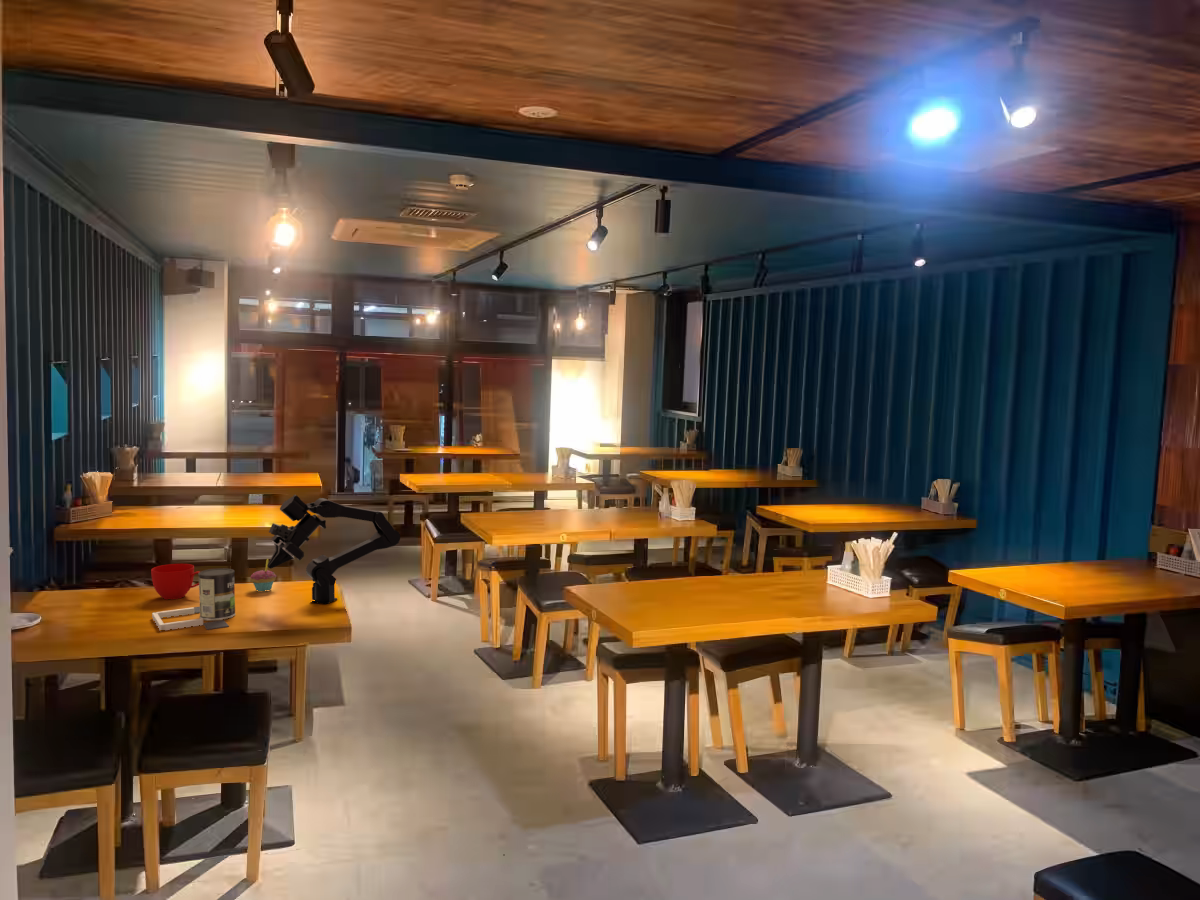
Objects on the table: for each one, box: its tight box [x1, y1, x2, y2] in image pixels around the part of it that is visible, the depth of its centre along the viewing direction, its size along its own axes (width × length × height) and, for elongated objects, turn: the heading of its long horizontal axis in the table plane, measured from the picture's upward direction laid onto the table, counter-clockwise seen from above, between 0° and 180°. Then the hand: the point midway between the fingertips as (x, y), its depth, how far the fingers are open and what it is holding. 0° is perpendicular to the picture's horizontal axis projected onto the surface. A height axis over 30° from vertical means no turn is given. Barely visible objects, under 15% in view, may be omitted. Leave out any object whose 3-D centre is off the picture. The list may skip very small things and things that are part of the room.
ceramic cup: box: [150, 563, 201, 600], centre depth 291 cm, size 13×17×10 cm
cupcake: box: [249, 558, 277, 591], centre depth 301 cm, size 9×8×12 cm
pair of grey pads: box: [193, 606, 230, 631], centre depth 269 cm, size 6×27×1 cm, turn 35°
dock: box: [151, 606, 204, 631], centre depth 264 cm, size 12×15×2 cm
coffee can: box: [197, 567, 236, 622], centre depth 269 cm, size 10×10×14 cm
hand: (268, 567), depth 278 cm, fingers closed
